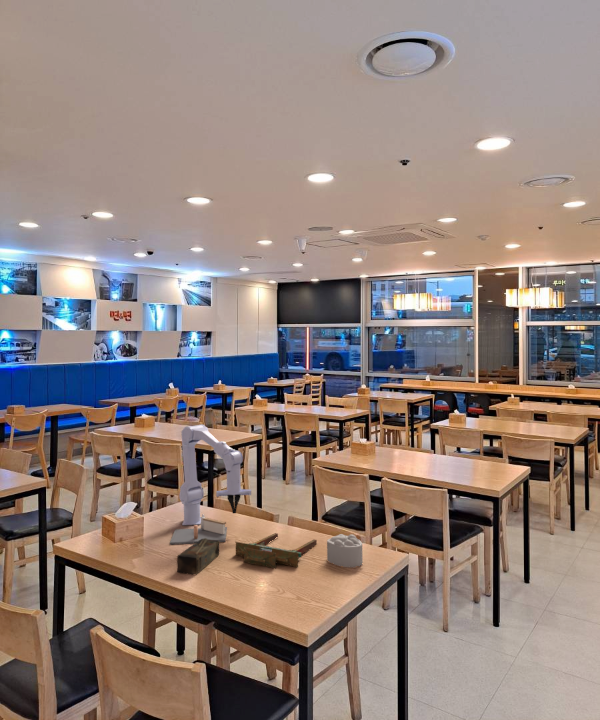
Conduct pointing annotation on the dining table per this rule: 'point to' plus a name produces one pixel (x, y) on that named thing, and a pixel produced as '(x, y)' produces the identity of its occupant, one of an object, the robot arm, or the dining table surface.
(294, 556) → the miniature gate
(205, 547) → the dark olive rectangular block
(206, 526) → the gate
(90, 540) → the dining table surface
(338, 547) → the lumpy-topped squat cylinder
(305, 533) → the dining table surface
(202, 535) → the grey plate with bar
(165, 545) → the dining table surface
